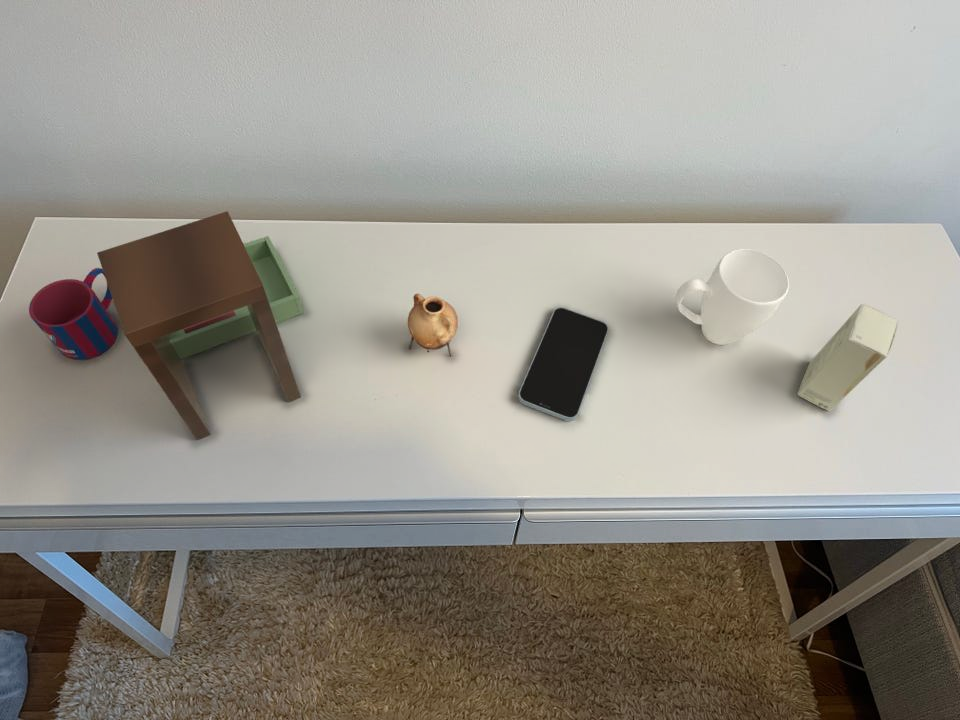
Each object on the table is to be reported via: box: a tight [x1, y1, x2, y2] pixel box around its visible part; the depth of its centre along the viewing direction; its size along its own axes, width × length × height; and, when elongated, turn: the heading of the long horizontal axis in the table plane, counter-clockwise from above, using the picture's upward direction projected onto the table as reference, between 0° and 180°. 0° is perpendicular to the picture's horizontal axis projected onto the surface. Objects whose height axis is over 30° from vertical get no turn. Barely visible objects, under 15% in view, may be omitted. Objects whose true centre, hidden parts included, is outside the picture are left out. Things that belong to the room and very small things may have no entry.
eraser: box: [183, 311, 236, 334], centre depth 80 cm, size 6×3×2 cm
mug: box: [674, 248, 790, 346], centre depth 82 cm, size 12×8×11 cm
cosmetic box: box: [797, 302, 900, 412], centre depth 78 cm, size 6×4×12 cm
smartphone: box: [517, 306, 610, 422], centre depth 82 cm, size 7×1×15 cm
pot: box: [407, 293, 459, 358], centre depth 80 cm, size 6×8×6 cm
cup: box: [28, 267, 118, 361], centre depth 78 cm, size 7×10×7 cm
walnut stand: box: [96, 210, 302, 441], centre depth 69 cm, size 12×10×21 cm
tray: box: [166, 235, 304, 360], centre depth 83 cm, size 16×11×4 cm
